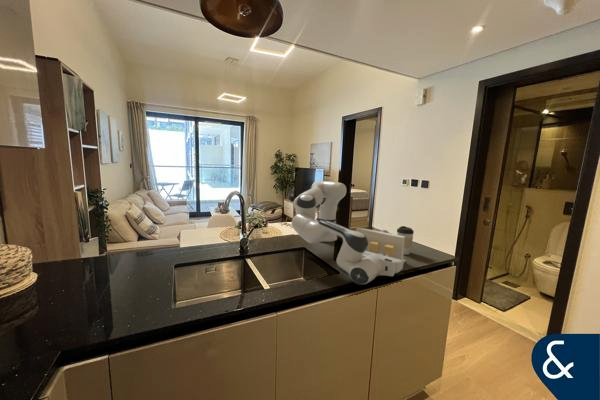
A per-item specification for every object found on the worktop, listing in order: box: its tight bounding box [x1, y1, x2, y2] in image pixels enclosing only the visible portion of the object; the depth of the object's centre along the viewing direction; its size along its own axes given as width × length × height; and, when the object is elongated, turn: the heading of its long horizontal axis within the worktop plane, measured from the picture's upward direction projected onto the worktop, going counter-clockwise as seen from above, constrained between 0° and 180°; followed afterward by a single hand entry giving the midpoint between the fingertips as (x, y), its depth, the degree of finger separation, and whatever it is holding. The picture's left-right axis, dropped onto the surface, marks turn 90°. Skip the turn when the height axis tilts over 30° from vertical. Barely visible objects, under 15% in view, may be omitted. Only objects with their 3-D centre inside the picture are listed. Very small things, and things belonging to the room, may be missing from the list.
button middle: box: [369, 241, 380, 252], centre depth 132 cm, size 4×7×4 cm, turn 141°
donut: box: [378, 229, 390, 245], centre depth 155 cm, size 10×4×10 cm, turn 120°
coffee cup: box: [396, 225, 415, 256], centre depth 142 cm, size 9×9×15 cm
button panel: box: [355, 227, 406, 265], centre depth 136 cm, size 28×5×14 cm, turn 51°
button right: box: [384, 245, 395, 256], centre depth 127 cm, size 4×7×4 cm, turn 141°
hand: (385, 255), depth 120 cm, fingers closed
